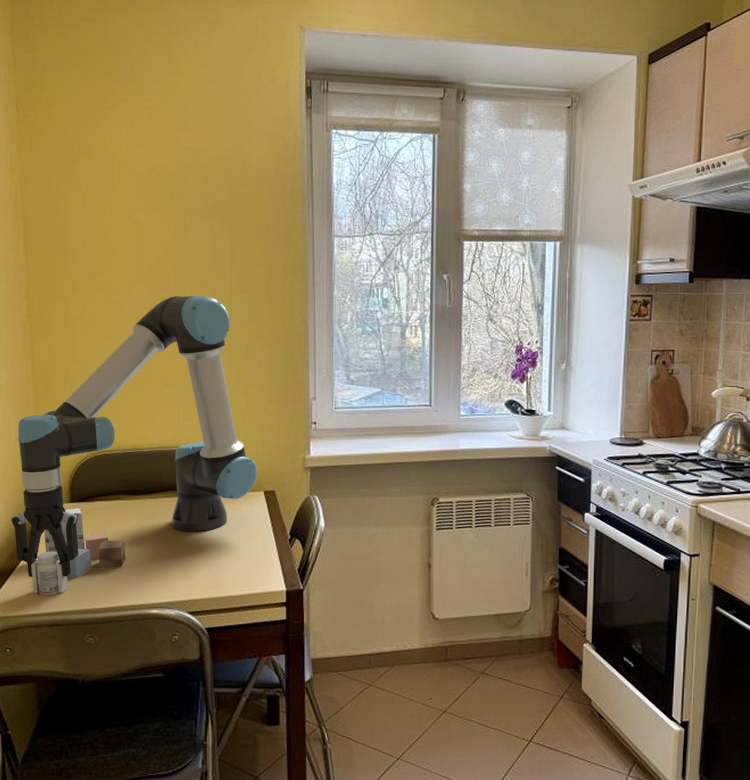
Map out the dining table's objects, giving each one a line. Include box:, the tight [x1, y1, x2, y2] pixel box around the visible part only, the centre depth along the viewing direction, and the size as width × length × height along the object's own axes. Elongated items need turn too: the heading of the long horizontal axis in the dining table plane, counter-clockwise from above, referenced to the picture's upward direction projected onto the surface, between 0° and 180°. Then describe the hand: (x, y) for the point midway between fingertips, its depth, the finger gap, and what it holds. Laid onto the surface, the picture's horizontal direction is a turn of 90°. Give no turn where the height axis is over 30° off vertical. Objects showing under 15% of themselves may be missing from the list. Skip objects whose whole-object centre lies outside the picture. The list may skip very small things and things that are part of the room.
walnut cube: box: [98, 539, 127, 570], centre depth 162 cm, size 5×5×5 cm
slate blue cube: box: [59, 548, 92, 579], centre depth 156 cm, size 5×5×5 cm
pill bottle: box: [37, 551, 60, 596], centre depth 146 cm, size 5×5×8 cm
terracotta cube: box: [84, 530, 109, 560], centre depth 167 cm, size 5×5×5 cm
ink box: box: [43, 507, 86, 552], centre depth 165 cm, size 9×5×12 cm, turn 118°
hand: (50, 589), depth 147 cm, fingers closed on pill bottle, 5 cm apart
